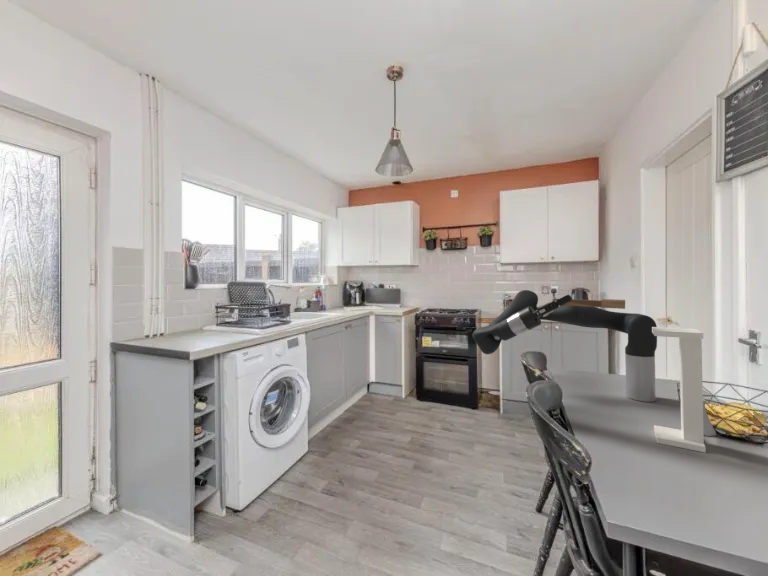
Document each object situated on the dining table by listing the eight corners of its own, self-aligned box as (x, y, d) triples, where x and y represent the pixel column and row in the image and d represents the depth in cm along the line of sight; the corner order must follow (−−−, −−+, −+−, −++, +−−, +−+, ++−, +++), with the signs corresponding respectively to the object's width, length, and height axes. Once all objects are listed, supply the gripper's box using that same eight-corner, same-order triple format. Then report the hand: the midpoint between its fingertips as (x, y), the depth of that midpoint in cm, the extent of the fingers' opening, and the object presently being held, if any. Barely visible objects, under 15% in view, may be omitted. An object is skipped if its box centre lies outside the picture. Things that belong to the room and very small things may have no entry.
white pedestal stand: (654, 429, 101) (651, 326, 101) (698, 438, 95) (696, 328, 95) (657, 442, 93) (654, 330, 93) (705, 452, 87) (703, 333, 87)
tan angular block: (554, 303, 115) (554, 297, 115) (624, 307, 104) (625, 299, 104) (551, 305, 110) (551, 298, 110) (625, 308, 98) (625, 300, 98)
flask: (722, 437, 95) (722, 403, 95) (693, 436, 96) (693, 402, 96) (704, 427, 102) (703, 395, 102) (677, 425, 104) (676, 394, 104)
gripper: (533, 327, 123) (579, 305, 114) (524, 332, 112) (574, 308, 103) (522, 310, 125) (566, 287, 116) (512, 313, 114) (560, 287, 105)
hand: (570, 297), depth 109 cm, fingers closed on tan angular block, 2 cm apart
